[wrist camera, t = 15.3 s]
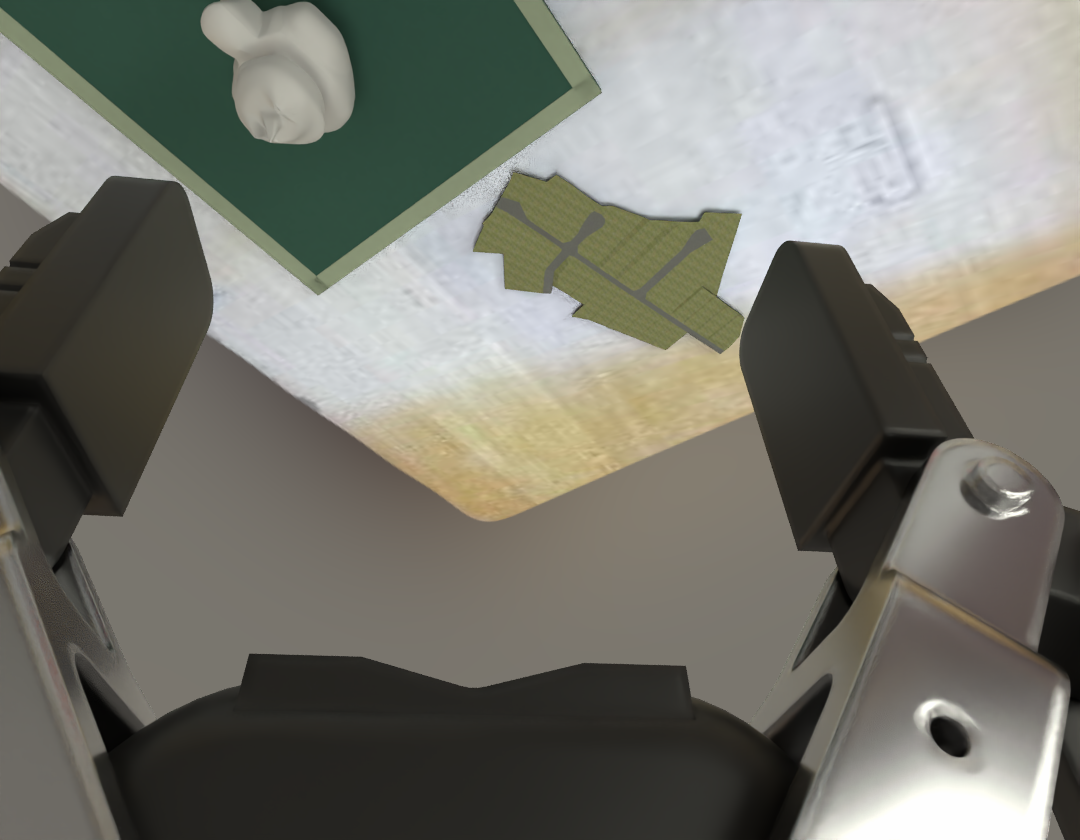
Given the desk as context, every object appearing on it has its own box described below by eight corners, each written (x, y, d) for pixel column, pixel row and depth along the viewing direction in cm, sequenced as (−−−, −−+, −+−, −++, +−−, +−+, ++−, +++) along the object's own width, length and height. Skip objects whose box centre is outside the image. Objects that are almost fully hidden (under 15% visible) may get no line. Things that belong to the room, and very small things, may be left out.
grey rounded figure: (319, 137, 35) (283, 225, 29) (194, 28, 31) (126, 107, 25) (391, 60, 32) (365, 141, 27) (264, -69, 28) (203, -4, 23)
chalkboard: (-46, -13, 30) (-51, -10, 29) (253, -451, 21) (250, -451, 21) (319, 292, 42) (318, 295, 42) (601, 89, 33) (601, 92, 33)
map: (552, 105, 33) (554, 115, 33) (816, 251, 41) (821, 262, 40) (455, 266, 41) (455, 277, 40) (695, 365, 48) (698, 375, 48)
